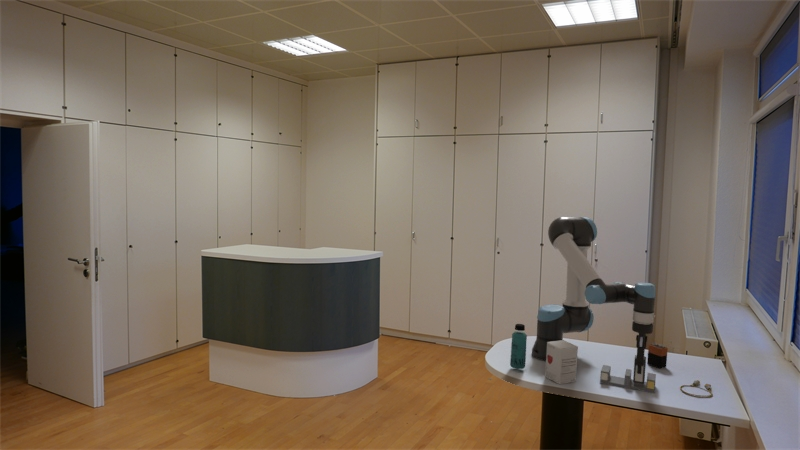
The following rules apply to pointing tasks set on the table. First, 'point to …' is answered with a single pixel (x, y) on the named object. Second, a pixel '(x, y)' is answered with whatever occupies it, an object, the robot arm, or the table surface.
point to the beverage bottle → (518, 347)
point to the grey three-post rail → (627, 380)
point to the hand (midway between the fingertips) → (639, 378)
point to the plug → (643, 371)
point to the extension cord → (698, 387)
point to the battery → (657, 355)
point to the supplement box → (561, 361)
